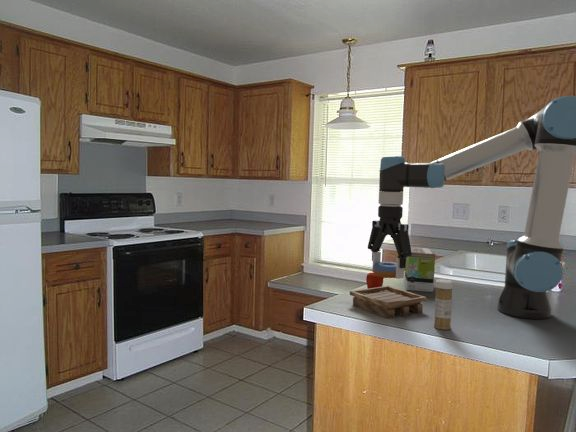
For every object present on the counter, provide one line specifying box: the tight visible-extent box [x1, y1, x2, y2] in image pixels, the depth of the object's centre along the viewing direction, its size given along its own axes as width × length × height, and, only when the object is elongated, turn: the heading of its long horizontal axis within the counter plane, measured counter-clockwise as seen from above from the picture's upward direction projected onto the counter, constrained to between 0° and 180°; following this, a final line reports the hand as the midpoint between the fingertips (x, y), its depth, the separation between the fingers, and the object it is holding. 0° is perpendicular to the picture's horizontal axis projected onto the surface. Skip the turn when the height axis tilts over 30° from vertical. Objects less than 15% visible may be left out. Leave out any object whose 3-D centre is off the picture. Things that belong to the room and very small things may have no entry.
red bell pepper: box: [365, 272, 384, 293], centre depth 162 cm, size 6×6×8 cm
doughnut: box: [372, 261, 396, 279], centre depth 141 cm, size 10×10×5 cm
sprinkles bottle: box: [433, 278, 454, 331], centre depth 123 cm, size 5×5×14 cm
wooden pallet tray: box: [349, 285, 427, 320], centre depth 141 cm, size 17×17×5 cm
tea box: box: [404, 247, 436, 293], centre depth 172 cm, size 15×10×15 cm, turn 168°
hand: (387, 274), depth 141 cm, fingers closed on doughnut, 10 cm apart
